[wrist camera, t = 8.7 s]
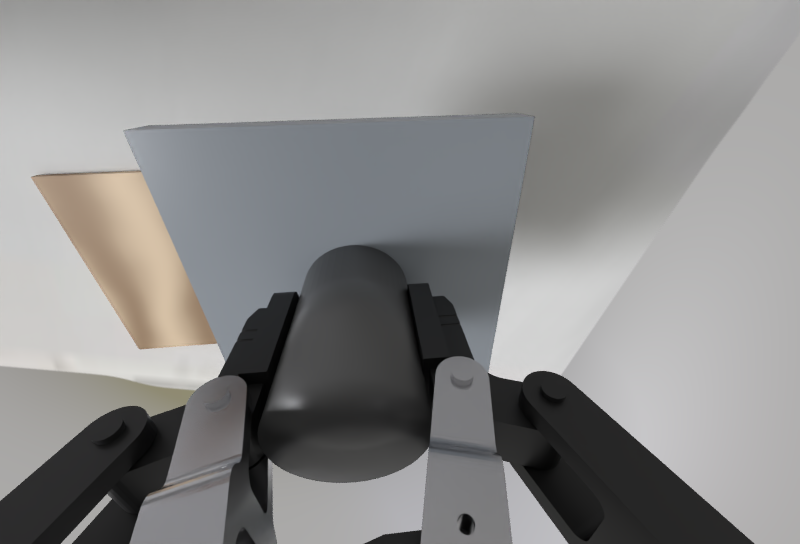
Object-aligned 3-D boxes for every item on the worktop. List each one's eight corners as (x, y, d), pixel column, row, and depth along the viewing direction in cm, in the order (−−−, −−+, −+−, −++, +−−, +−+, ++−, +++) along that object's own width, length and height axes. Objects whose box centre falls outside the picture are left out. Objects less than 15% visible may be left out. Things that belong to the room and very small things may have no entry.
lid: (251, 381, 16) (179, 565, 10) (148, 125, 10) (-212, 197, 4) (479, 361, 17) (543, 521, 11) (518, 113, 11) (725, 155, 4)
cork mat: (142, 345, 30) (139, 349, 29) (37, 175, 21) (31, 177, 21) (312, 332, 31) (311, 336, 30) (275, 165, 22) (273, 166, 22)
